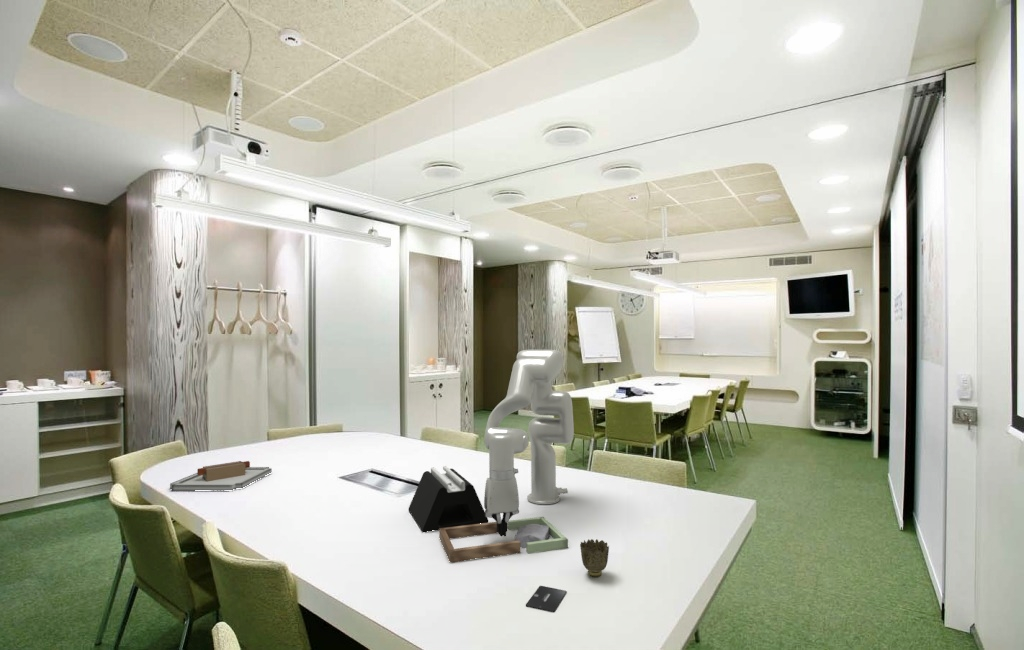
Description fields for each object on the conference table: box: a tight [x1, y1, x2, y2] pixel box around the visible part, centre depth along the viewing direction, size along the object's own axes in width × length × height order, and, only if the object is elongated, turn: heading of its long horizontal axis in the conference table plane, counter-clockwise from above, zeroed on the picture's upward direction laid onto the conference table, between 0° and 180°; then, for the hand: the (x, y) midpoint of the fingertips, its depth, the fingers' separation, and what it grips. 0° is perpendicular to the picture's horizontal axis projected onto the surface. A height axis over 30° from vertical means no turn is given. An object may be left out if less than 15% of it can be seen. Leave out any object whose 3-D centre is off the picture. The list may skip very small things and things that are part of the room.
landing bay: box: [507, 516, 569, 554], centre depth 152 cm, size 12×20×2 cm, turn 18°
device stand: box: [408, 465, 489, 533], centre depth 171 cm, size 22×22×15 cm
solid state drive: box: [525, 585, 568, 613], centre depth 116 cm, size 7×10×1 cm
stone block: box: [514, 524, 550, 549], centre depth 150 cm, size 12×5×10 cm
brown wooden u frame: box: [438, 521, 521, 563], centre depth 146 cm, size 20×18×3 cm
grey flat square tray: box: [169, 460, 273, 492], centre depth 216 cm, size 30×30×8 cm
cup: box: [579, 538, 610, 579], centre depth 127 cm, size 8×7×8 cm
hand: (502, 534), depth 149 cm, fingers closed
